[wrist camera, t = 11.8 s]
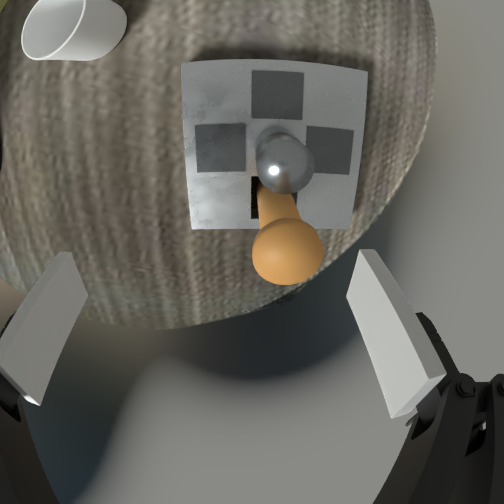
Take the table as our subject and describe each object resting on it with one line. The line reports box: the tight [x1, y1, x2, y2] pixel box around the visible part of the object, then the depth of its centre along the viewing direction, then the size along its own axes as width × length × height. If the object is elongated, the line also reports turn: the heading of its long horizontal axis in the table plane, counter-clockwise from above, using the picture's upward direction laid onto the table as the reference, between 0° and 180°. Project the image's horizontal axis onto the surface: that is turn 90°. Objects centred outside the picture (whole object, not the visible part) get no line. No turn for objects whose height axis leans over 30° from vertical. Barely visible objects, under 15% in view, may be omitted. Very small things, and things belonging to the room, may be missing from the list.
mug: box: [21, 0, 127, 61], centre depth 16 cm, size 9×12×11 cm
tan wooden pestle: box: [252, 180, 323, 285], centre depth 28 cm, size 6×6×15 cm
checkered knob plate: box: [181, 59, 368, 229], centre depth 26 cm, size 20×20×11 cm
